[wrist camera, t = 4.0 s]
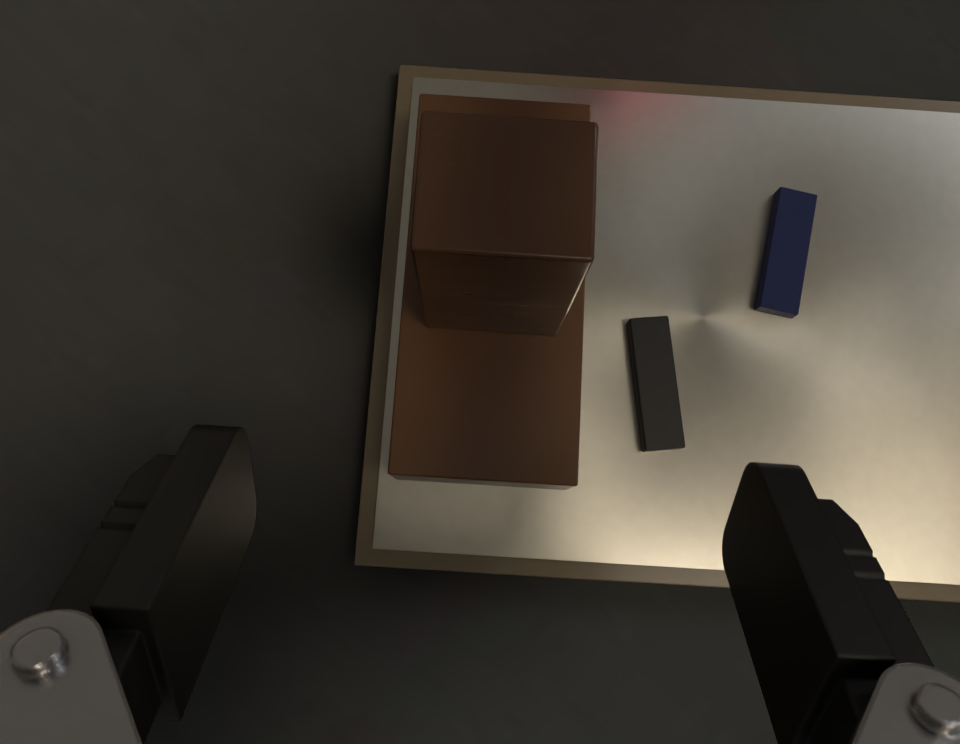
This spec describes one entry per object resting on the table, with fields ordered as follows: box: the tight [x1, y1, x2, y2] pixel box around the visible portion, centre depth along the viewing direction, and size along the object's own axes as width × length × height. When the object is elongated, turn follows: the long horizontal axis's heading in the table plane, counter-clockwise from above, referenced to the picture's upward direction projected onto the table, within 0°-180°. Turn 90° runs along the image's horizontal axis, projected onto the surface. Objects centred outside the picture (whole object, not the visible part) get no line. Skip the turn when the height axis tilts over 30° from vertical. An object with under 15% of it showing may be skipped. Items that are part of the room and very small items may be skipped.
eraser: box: [388, 94, 599, 490], centre depth 19 cm, size 5×11×8 cm, turn 177°
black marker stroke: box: [626, 316, 685, 452], centre depth 23 cm, size 1×4×1 cm, turn 5°
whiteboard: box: [354, 65, 960, 603], centre depth 24 cm, size 20×16×1 cm
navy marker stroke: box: [754, 187, 817, 319], centre depth 23 cm, size 1×4×1 cm, turn 167°
